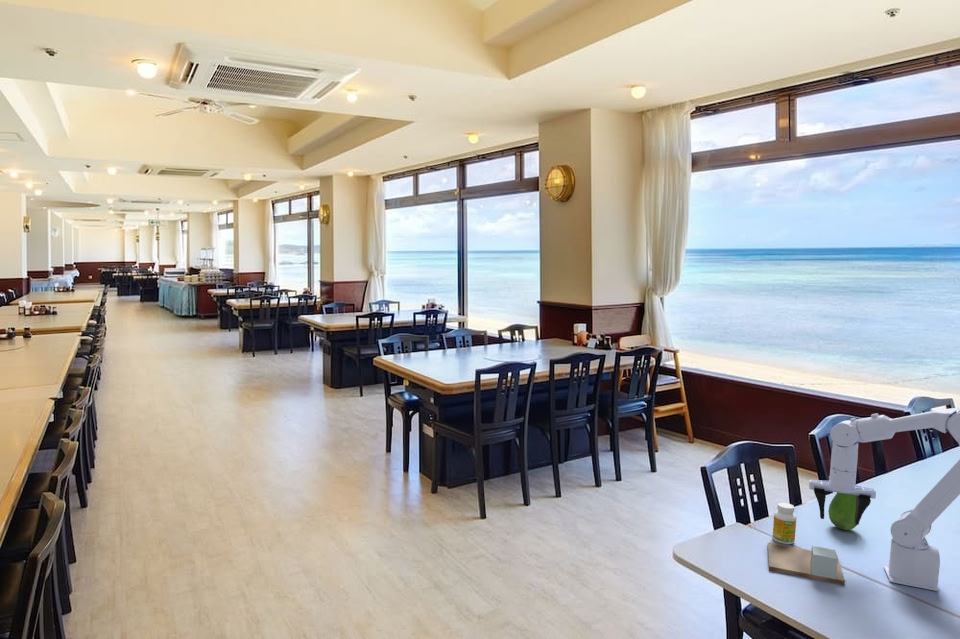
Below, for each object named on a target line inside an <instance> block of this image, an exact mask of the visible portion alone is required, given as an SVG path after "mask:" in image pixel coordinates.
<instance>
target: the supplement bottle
mask: <svg viewBox="0 0 960 639" xmlns="http://www.w3.org/2000/svg"><path fill="white" fill-rule="evenodd" d="M776 509H777V510H775V511H774V514H773V525H772V526H773V527H772V528H773V529H772V540H774V541H775V542H777V543H779V544H781V545H791V544H792V545H793V544H795V541H796V531H797V530H796V528H797V515H796V514H795V513H794V512H795V506H794V505H793V504H791V503H786V502H778V504H777V508H776Z"/></svg>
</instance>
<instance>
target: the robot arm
mask: <svg viewBox="0 0 960 639" xmlns="http://www.w3.org/2000/svg"><path fill="white" fill-rule="evenodd" d="M923 429H935V430H937V431H939V432H941V433H944V434H946V433H948V432H949V434H950V435H951V437H952V438H954V440H955V441H956V443H958V446H959V447H960V408H959V407H951V408H943V409H937V410H930V411H926V412H925V411H924V412H922V413H916V414H915V413H914V414H910V415H906V416H901V417H896V418H891V417H889V416H888V415H885V414H879V413H877V412H876V413H872V414H870V417H864V418H858V419H857V418H856V417H853V418H850V420H846V419H845V420H843V421H840V422H839V423H836V424H835V425H834V426H832V428H831V429H830V431H829V432H830V433H829V435H830V439H831V440H832V447H831V455H830V468H829V479H828V480H818V479H815V480H814V479H809V482H808V488H809V490H813V492H814V496H815V498H816V500H817V501H816V502H817V503H818V507H819V516H820V517H819V518H820V519H821V520H824V519H825V505H826V497H827V496H826V491H827V492H831V493H837V492H838V493H845V494H852V495H856V511H855V518H854V522H855V524H856V525H857V526H858V525H859V524H860V521H861V519H862V517H861V516H863V514H864V512H865V511H866V510H867V508H868V507H869V506H870V505H871V502H872V500H873V499H874V500H875V499H876V497H877V496H876V495H877V491H876V489H875V488H872V487H871V488H870V487H866V486H862V485H858V484H857V483H856V481H857V471H858V460H859V459H858V457H859V456H858V455H859V443H869V442H870V443H871V442H877V441H882V440H884V441H885V440H890V439H893V437H894V435H895V434H896V433H900V432H907V431H916V430H917V431H918V430H923ZM959 496H960V459H959V460H957V462H956V463H955V464H954V465H953V466H952V467H951V468H950V469H949V470H948V471H947V472H946V473H945V475H943V477H942V478H941V479H940V480H939V481H938V482H936V484H935V485H934V486H933V487H932V488H931V489H930V491H929V492H928V493H927V494H926V495H925V496H924V497H923V498H922V499H921V500H920V501H919V502H918V504H916V506H914V508H912V509H909V510H906V511H904V512H903V513H902V514H901V515H900V517H899V518H898V519H897V520H895V521H894V522H893V523H892V524H891V527H890V535H891V541H890V552H889V560H888V562H889V563H888V565H884V566H883V569H884V572H885V573H886V576H887V578H888V580H889V582H890V583H894V584H899V585H904V586H909V587H915V588H918V589H919V588H920V589H925V590H928V591H929V590H931V591H935V592H938V591H939V587H938V586H939V579H940V578H939V575H940V567H941V558H940V552H939V549H938V547H937V546H932V545H930V544H929V543H928V540H927V538H926V536H928V534H930V532H931V530H932V524H934V522H935V521H936V520H937V519H938V518H939V517H940V516H941V514H942V513H944V512H945V510H946V509H947V508H948V507H949V506H951V505H952V503H953V502H954V501H955V500H956V499H957V498H958V497H959Z"/></svg>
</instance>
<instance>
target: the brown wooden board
mask: <svg viewBox="0 0 960 639" xmlns="http://www.w3.org/2000/svg"><path fill="white" fill-rule="evenodd" d="M837 558H838V563H837V575H836V579H832V578H826V577H821V576H816V575H812V572H811V567H810V562H811V549H810V550H809V549H804V548H801V547H793V546H787V545H784V544H778V543H777V544H776V543H773V542H772V543H771V542H767V559H768V571H771V572H777V573H782V574H787V575H792V576H797V577H802V578H807V579H813V580H817V581H822V582H827V583H833V584H837V585H842V586H845V583H846V580H845V578H844V573H843V570H842V566H841V563H840V559H839V556H838V555H837Z"/></svg>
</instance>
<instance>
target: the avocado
mask: <svg viewBox="0 0 960 639" xmlns="http://www.w3.org/2000/svg"><path fill="white" fill-rule="evenodd" d="M835 493H836V494H835V495H834V496H833V498H832V500H831V501H830V504H829V505H828V517H829V520H830V522H831V523H832V524H833V525H834V526H835V527H836V528H837V529H839V530H844V531H850V530H853V529H855V528H856V527H857V526H858V525H856V524H855V522H854V518H855V511H856V495H852V494H845V493H838V492H835ZM862 516H863V515H862ZM862 516H861V518H862Z"/></svg>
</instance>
